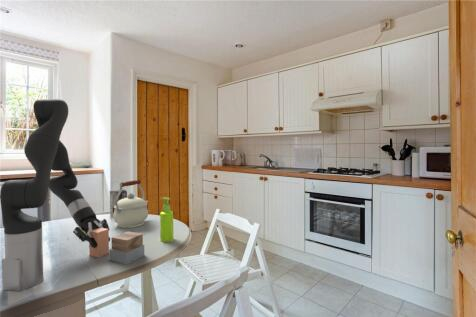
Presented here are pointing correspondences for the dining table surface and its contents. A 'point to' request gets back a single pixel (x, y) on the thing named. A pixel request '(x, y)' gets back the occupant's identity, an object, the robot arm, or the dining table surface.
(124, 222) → the kettle
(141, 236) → the tower top
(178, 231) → the dining table surface
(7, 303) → the dining table surface
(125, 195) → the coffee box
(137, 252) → the tower base
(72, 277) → the dining table surface
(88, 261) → the dining table surface
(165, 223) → the soap dispenser
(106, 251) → the pillar
